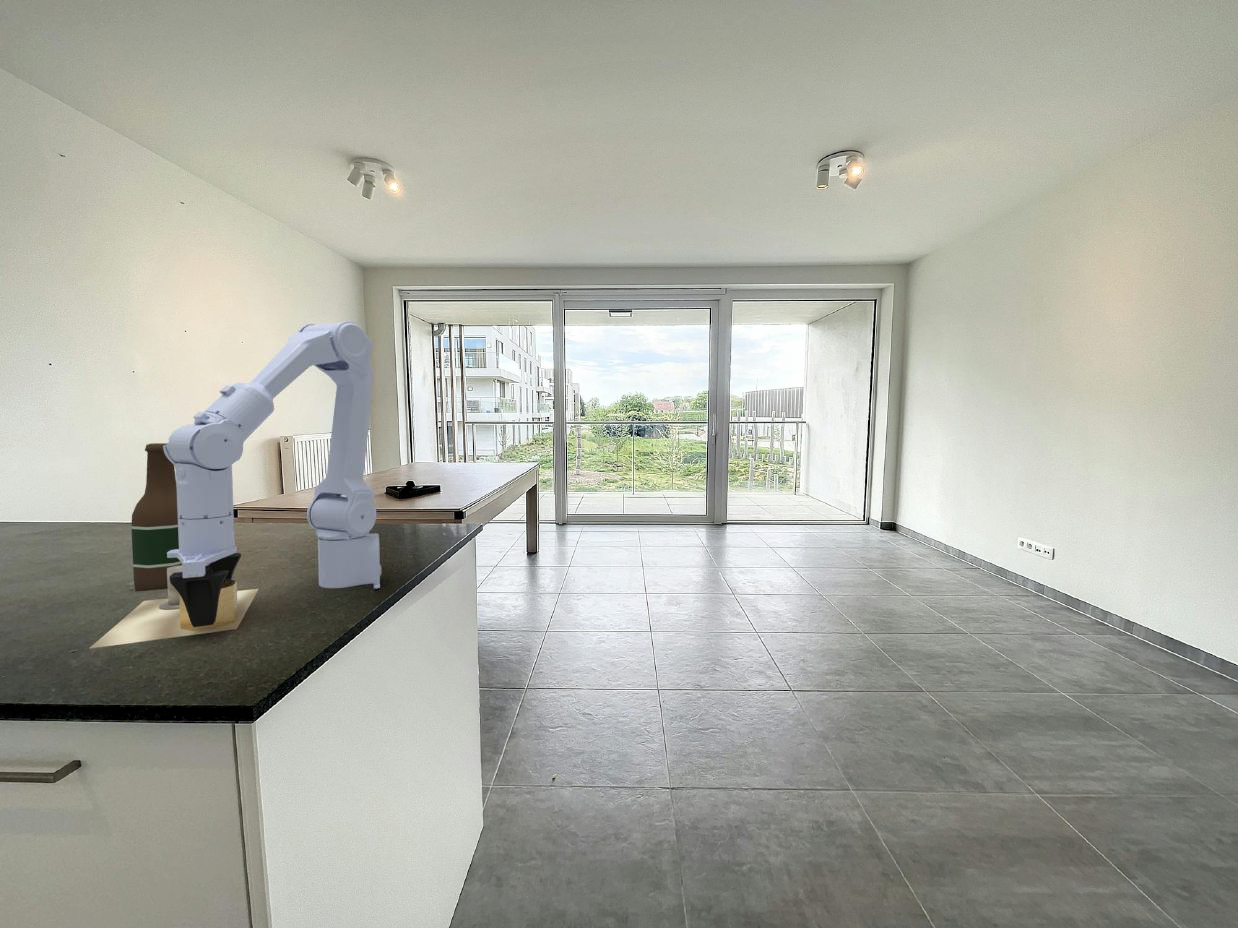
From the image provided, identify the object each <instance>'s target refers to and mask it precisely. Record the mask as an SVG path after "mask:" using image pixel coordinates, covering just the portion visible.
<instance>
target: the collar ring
mask: <svg viewBox="0 0 1238 928" xmlns="http://www.w3.org/2000/svg"><path fill="white" fill-rule="evenodd" d="M237 591H238V583H237V580H235V579H231V580H229V579H225V580H224V582H223V585H222V588H221V591H220V595H219V601H218V609H217V615H216V619H215V622H214V624H213V625H207V626H200V627H193V626H192V624H191V621H190V619H189V616H188V613H187V610H186V607H185V604H184V602H183V600H182V598H181V596H180V594H179V598H180V623H181V629H184V630H189V631H200V630H207V629H215V628H219V627H221V626H224V625H227V624H230V623H233V622H235V620H236V618H237V617H238V605H237Z"/></svg>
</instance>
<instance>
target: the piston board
mask: <svg viewBox="0 0 1238 928" xmlns="http://www.w3.org/2000/svg"><path fill="white" fill-rule="evenodd" d="M176 572H182V565H180V566H173V567H169V568H167V583H168V589H167V598H159V599H158V598H157V599H149V600H143V601H142V602H141V603H139V605H138V606H136V607H135V608H134V609H133V610H132V611H130V612H129V613H128V614H127V615H125V617H123V619H121V620H120V621H119V622H118V623H117V624H116V625H115V626H113V627H112V628H111V629H110V630H109V631H107V632H106V633H105V634H104V635H102V637H100V638H99V639H98V640H97V641H96V642H94V643H93V644H92V645H91V646H90V647H89V648H88V649H89V650H92V649H98V648H106V647H112V646H121V645H126V644H127V645H128V644H134V643H142V642H149V641H157V640H159V641H160V640H164V639H172V638H174V639H175V638H179V637H186V636H187V637H188V636H194V635H203V634H209V633H211V634H212V633H218V632H223V631H230V630H231V631H232V630H237V629H238V627H239V626H240V624H241V622H242V620H243V619H244V617H245V615H246V613H247V612H248V609H249V608H250V606H251V605H252V602H253V600H254V598H255V597H256V595H257V593H258V592H259V589H260V588H254V589H243V590H237V605H238V617H237V618H236V620H235V622H233V623H230V624H227V625H224V626H221V627H219V628H215V629H207V630H200V631H189V630H184V629H181V623H180V598H179V593H178V591H177V590H176V589H175V588H174V587H173V586H172V585H171V583H170V576H171V575H172V574H173V573H176Z"/></svg>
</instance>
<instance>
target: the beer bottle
mask: <svg viewBox="0 0 1238 928" xmlns="http://www.w3.org/2000/svg"><path fill="white" fill-rule="evenodd" d="M167 443H168V442H166V443H165V442H164V443H163V442H162V443H161V442H160V443H155V442H153V443H147V444H146V445H145V447H144V451H145V452H146V453H147V454H146V455H147V456H146V457H147V458H146V483H145V490H144V494H143V495H142V497H140V499H139V501H138V502H137V503H136V505H135V506H134V509H133V511H132V514H131V525H130V526H131V543H132V544H131V545H132V546H131V548H132V568H133V569H132V571H133V586H134V592H147V591H155V590H156V591H157V590H164V589H165V590H168V583H167V568H169V567H173V566H180V565H182V562H181V561H180V560H179V559H178V558H167V552H169V551H170V550H174V549H179V534H178V510H177V487H176V469H175V466H174V464H173V463H172V462H171V461H170V460H169V459H168V458H167V457H166V455H165V453H164V450H163V446H164V445H167Z"/></svg>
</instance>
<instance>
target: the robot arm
mask: <svg viewBox="0 0 1238 928" xmlns="http://www.w3.org/2000/svg"><path fill="white" fill-rule="evenodd" d="M287 341H288V342H287V343H286V344H285V345H284V346H283V347H282V348H281V350H279V352H278V353H277V354H275V356H274V357H273V358H272V359H271V360H270V361H269V362H268V363H267V364H266V365H264V367H263V368H262V370H261V371H259V373H257V374H256V376H255V377H254V378H253V379H252V380H251V381H250V382H236V383H234V384H233V385H224V386H223V387H222V388H220V390H219V393H220V394H221V396H220V397H219V398H218V399H216V400H215V401H214V402H213V403H212V404H211V405H210V406H209V407H208V408H206V409H205V410H204V411H198V412H197V413H196V414H195V415H193V420H194V421H193V422H194V423H193V424H191V423H190V424H186V425H182V426H179V427H178V428H176V429H175V430H173V431H172V433H170V435H169V437H168V442H166V443H167V445H164V446H163V450H164V453H165V455H166V457H167V458H168V459H169V460H170V461H171V462H172V463H173V464H174V468H175V476H176V487H177V510H178V534H179V549H174V550H170V551H169V552H167V558H178V559H179V560H180V561H181V562H182V572H176V573H173V574H172V575H171V576H170V583H171V585H172V586H173V587H174V588H175V589H176V590H177V591H178V593H179V594H180V596H181V598H182V600H183V602H184V604H185V607H186V610H187V613H188V616H189V619H190V621H191V624H192V626H193V627H200V626H207V625H213V624H214V622H215V619H216V615H217V609H218V601H219V595H220V591H221V588H222V585H223V582H224V580H225V579H229V580H233V575H234V572H235V570H236V567H237V565H238V563H239V561H240V559H241V557H242V553H239V552H237V550H238V549H237V548H238V547H237V545H236V544H235V520H234V519H235V515H234V495H233V494H234V489H233V486H234V485H233V484H234V483H233V465H234V464H235V463H236V462H238V461H240V459H241V457H242V456H243V453H244V443H245V442H246V440H248V438H249V437H250V436H251V435H252V434H253V433H254V431H256V430H257V429H258V428H259V427H260V426H261V425H262V424H263V423H264V422H265V420H267V419H268V418H269V417H270V416H271V415H272V414H273V413H274V411H275V406H274V404H275V403H274V399H275V398H276V397H277V396H278V395H279V394H280V393H281V392H282V391H284V390H285V389H286V388H288V387H289V386H290V385H291V384H292V383H293V382H294V381H295V380H296V379H298V378H299V376H302V374H303V373H304V372H305V371H307V370H308V369H309V368H310V367H312V366H314V367H315V368H316V369H318V370H320V371H321V372H323V374H325V375H326V376H328V377H329V378H330V379H331V380H332V381H333V383H335V385H336V390H335V391H336V392H335V400H334V401H335V402H334V409H333V418H332V425H331V434H330V444H329V452H328V453H329V454H328V463H327V471H326V476H325V478H324V479H323V480H321V482H319V484H317V486H315V488H314V494H313V498H312V499H311V501H310V503H309V505H308V507H307V509H306V510H307V511H306V519H307V523H308V524H309V525H310V527H311V528H312V529H314V530H315V536H317V553H318V554H317V557H318V558H317V561H318V586H319V587H321V588H325V589H342V588H343V589H344V588H348V587H349V588H351V587H355V586H361V585H362V586H363V585H370V584H371V585H372V584H373V589H374V590H378V588H379V589H380V588H381V583H380V582H381V581H380V580H381V576H382V565H381V564H380V556H381V554H380V535H379V533H370V532H371V530H372V529H373V527H374V525H375V524H376V521H377V508H376V506H375V500H374V499H375V492H374V489H372V488H371V487H370V486H369V484H368V483H367V482H366V481H365V479H364V474H365V466H366V464H365V463H366V456H367V447H368V446H367V445H368V438H369V429H370V428H369V427H370V418H371V412H372V411H371V410H372V401H373V394H374V393H373V390H374V384H375V383H374V381H375V380H374V379H375V377H374V372H373V367H372V361H371V360H372V353H373V341H372V340H371V339H370V337H369V336H368V334H367V332H365V330H364V329H363V327H361V325H360V324H358V323H356V321H355V322H354V321H350V320H344V321H341V322H333V323H332V322H331V323H320V324H319V323H318V324H315V323H308V324H305V325H303V326H301V327H300V328H298V330H297V332H294V333H293V334H291V335H290V336H289V338H288V340H287Z"/></svg>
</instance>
